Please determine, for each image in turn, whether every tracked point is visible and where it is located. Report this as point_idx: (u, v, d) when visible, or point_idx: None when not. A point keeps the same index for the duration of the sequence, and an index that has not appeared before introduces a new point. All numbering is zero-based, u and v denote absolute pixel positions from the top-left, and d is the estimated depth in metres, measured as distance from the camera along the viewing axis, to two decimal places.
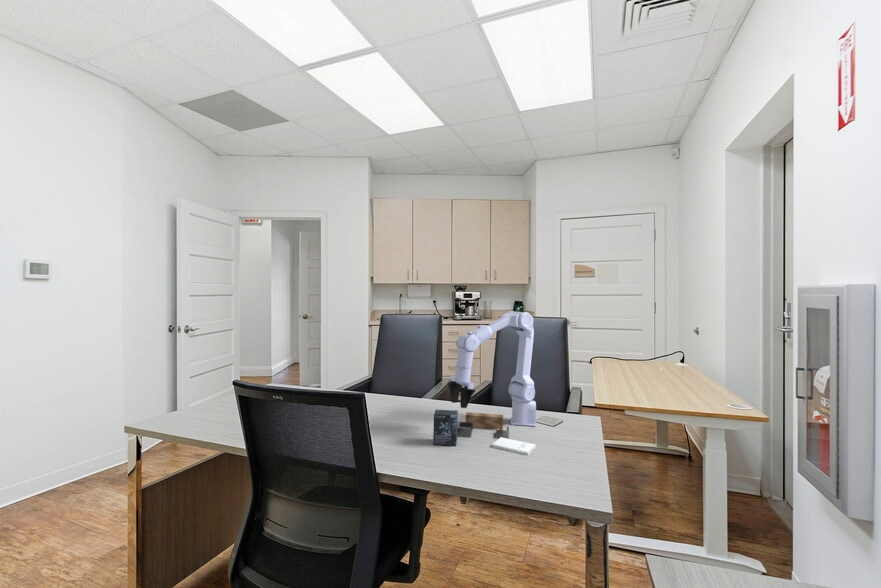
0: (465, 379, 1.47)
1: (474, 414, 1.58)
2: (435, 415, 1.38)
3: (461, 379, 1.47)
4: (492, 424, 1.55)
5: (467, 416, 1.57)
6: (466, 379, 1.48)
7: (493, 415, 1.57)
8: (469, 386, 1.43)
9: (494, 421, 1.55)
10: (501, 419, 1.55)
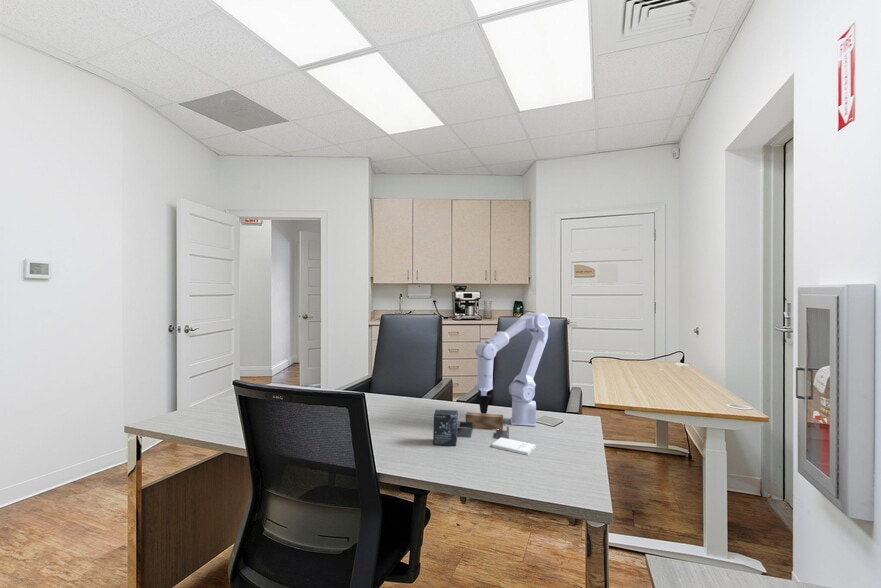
0: (483, 386, 1.55)
1: (474, 414, 1.58)
2: (435, 415, 1.38)
3: (480, 386, 1.55)
4: (492, 424, 1.55)
5: (467, 416, 1.57)
6: (485, 386, 1.54)
7: (493, 415, 1.57)
8: (481, 393, 1.50)
9: (494, 421, 1.55)
10: (501, 419, 1.54)
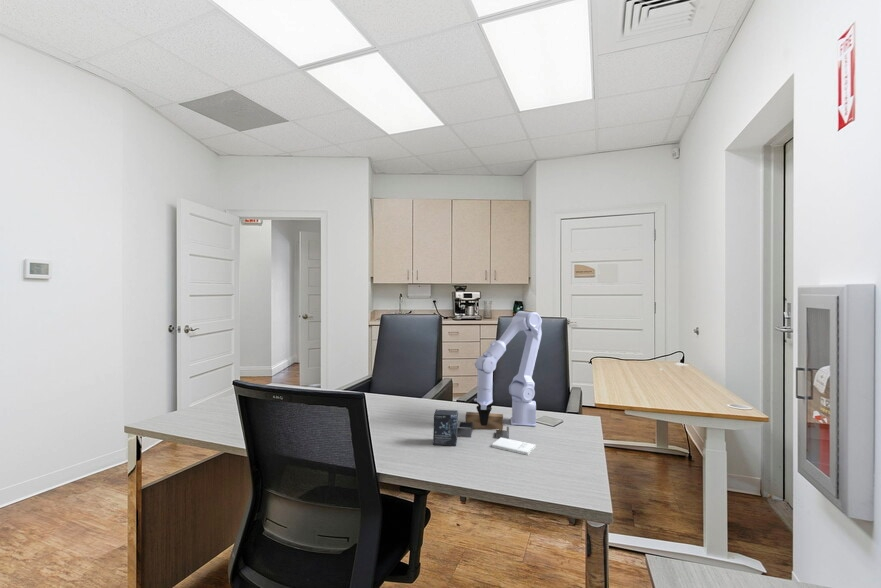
0: (483, 399, 1.55)
1: (474, 414, 1.58)
2: (435, 415, 1.38)
3: (480, 399, 1.55)
4: (492, 423, 1.55)
5: (467, 416, 1.57)
6: (484, 399, 1.55)
7: (493, 414, 1.57)
8: (481, 407, 1.50)
9: (495, 421, 1.55)
10: (501, 418, 1.55)
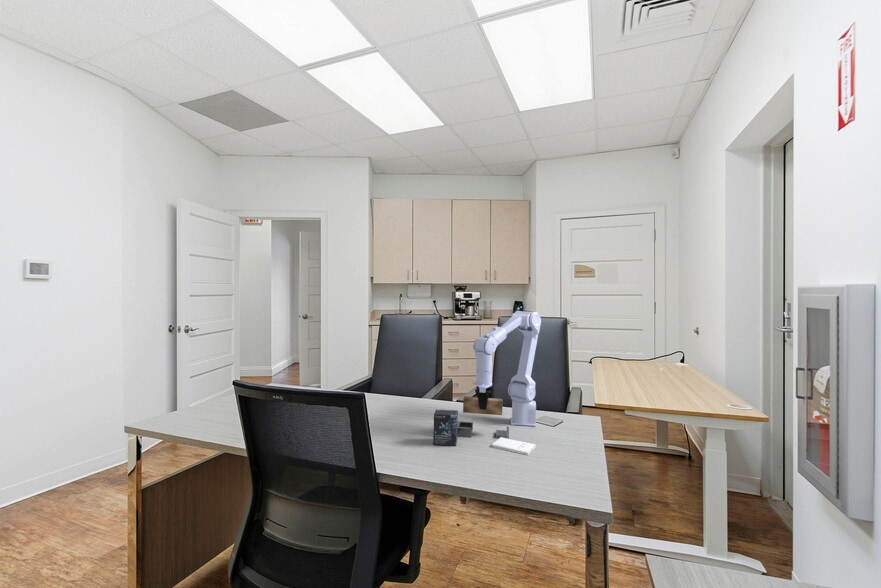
0: (482, 382, 1.47)
1: (472, 398, 1.50)
2: (435, 415, 1.38)
3: (479, 382, 1.48)
4: (491, 408, 1.48)
5: (465, 400, 1.49)
6: (483, 382, 1.47)
7: (492, 399, 1.50)
8: (480, 389, 1.43)
9: (494, 405, 1.48)
10: (501, 403, 1.47)
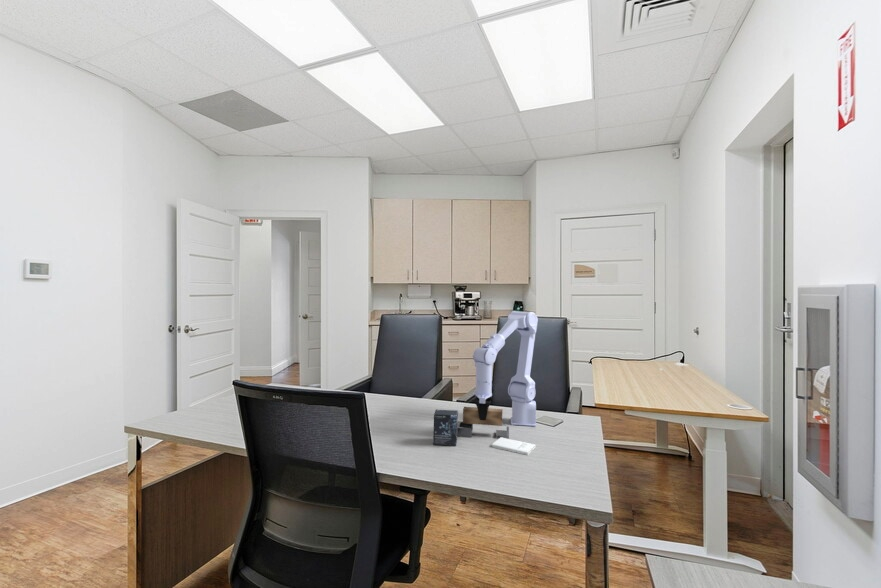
0: (482, 393, 1.47)
1: (472, 408, 1.50)
2: (435, 415, 1.38)
3: (478, 393, 1.47)
4: (491, 419, 1.47)
5: (465, 410, 1.49)
6: (483, 393, 1.47)
7: (492, 409, 1.49)
8: (480, 400, 1.42)
9: (493, 416, 1.47)
10: (500, 414, 1.47)
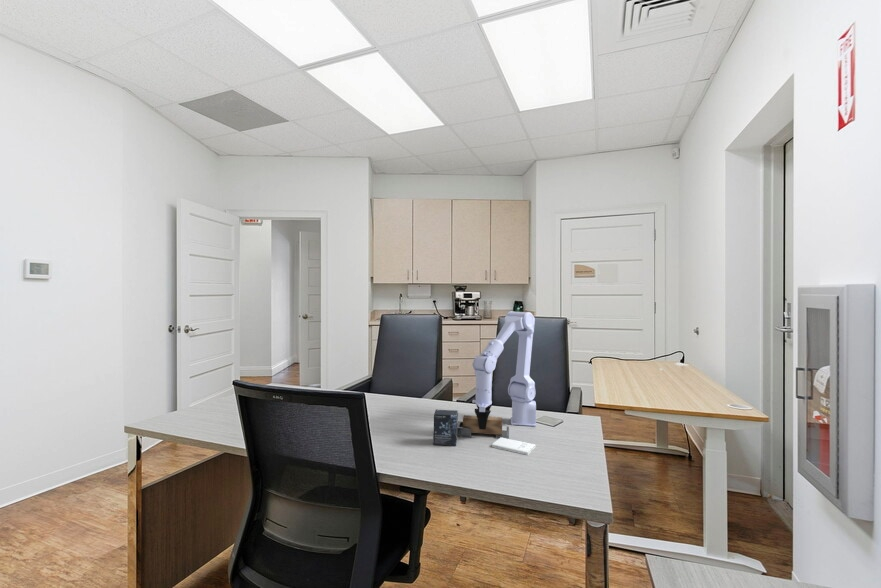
0: (482, 401, 1.47)
1: (472, 417, 1.50)
2: (435, 415, 1.38)
3: (478, 401, 1.47)
4: (491, 427, 1.47)
5: (464, 419, 1.49)
6: (483, 401, 1.47)
7: (492, 418, 1.50)
8: (480, 409, 1.43)
9: (493, 425, 1.47)
10: (500, 422, 1.47)
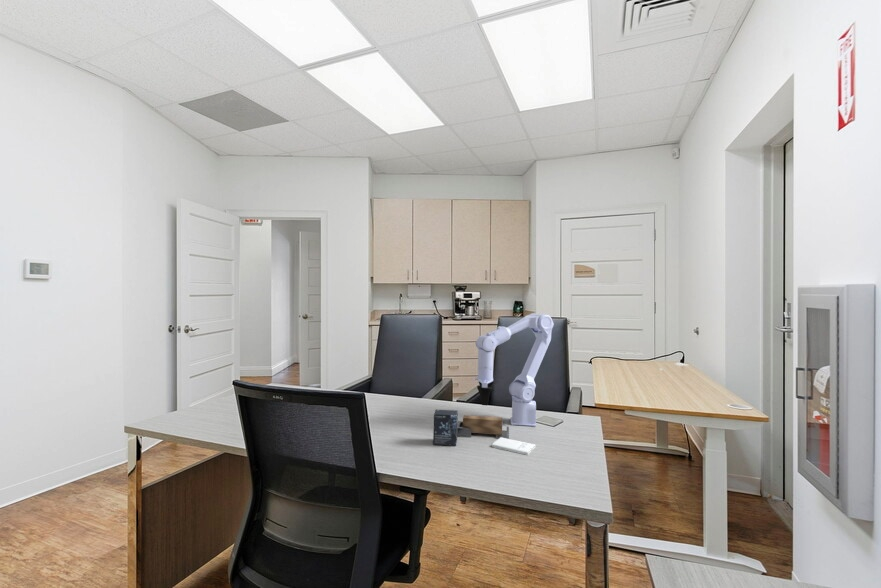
0: (484, 378, 1.55)
1: (472, 417, 1.50)
2: (435, 415, 1.38)
3: (481, 378, 1.56)
4: (491, 427, 1.47)
5: (464, 419, 1.49)
6: (485, 378, 1.55)
7: (492, 418, 1.50)
8: (482, 385, 1.51)
9: (493, 425, 1.47)
10: (500, 422, 1.47)
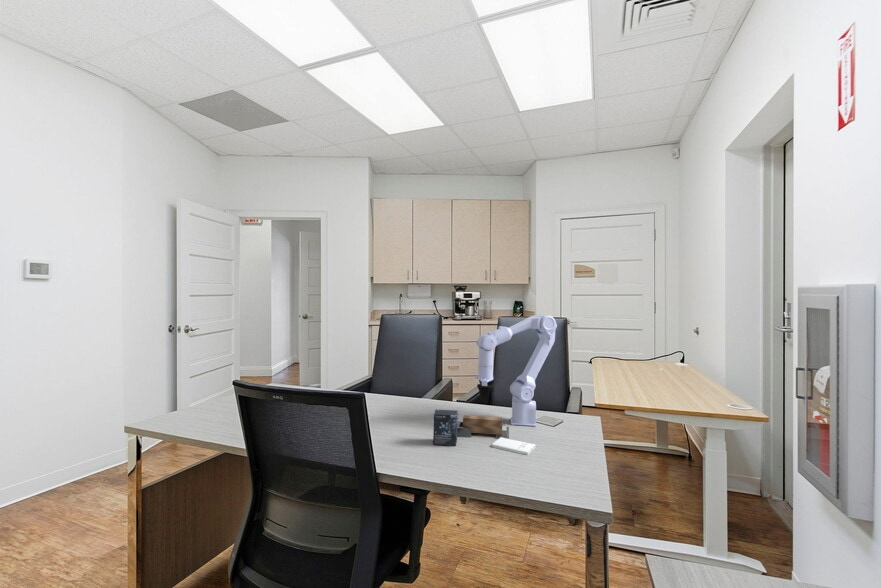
0: (484, 376, 1.57)
1: (472, 417, 1.50)
2: (435, 415, 1.38)
3: (481, 376, 1.58)
4: (491, 427, 1.47)
5: (464, 419, 1.49)
6: (485, 376, 1.57)
7: (492, 418, 1.50)
8: (482, 383, 1.53)
9: (493, 425, 1.47)
10: (500, 422, 1.47)
